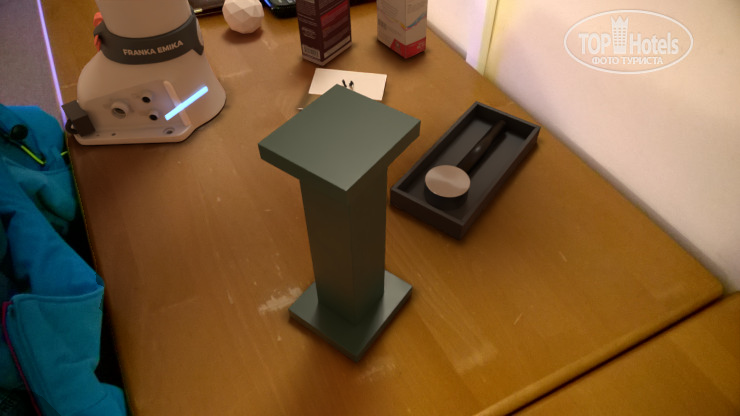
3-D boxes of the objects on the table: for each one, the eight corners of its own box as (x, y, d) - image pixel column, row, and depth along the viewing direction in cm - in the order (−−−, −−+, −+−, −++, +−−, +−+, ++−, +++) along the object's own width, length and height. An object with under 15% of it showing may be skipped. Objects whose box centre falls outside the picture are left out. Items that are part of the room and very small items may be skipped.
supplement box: (331, 37, 91) (325, -56, 79) (353, 45, 89) (349, -49, 77) (300, 58, 87) (288, -37, 75) (322, 67, 85) (313, -29, 73)
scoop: (485, 121, 74) (488, 108, 72) (520, 136, 72) (524, 123, 70) (415, 197, 64) (416, 184, 62) (453, 217, 62) (455, 203, 60)
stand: (347, 254, 59) (335, 78, 41) (412, 293, 55) (430, 119, 37) (289, 316, 53) (247, 144, 35) (357, 363, 50) (347, 199, 32)
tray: (473, 115, 76) (476, 100, 74) (536, 141, 72) (541, 126, 70) (389, 203, 64) (390, 188, 62) (459, 240, 60) (462, 226, 58)
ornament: (239, 16, 96) (259, -18, 92) (258, 44, 94) (280, 10, 90) (208, 11, 91) (228, -26, 86) (228, 40, 89) (249, 4, 84)
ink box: (426, 51, 88) (432, -16, 79) (403, 60, 86) (406, -8, 77) (397, 30, 93) (399, -36, 84) (374, 38, 91) (374, -28, 82)
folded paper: (386, 80, 82) (387, 70, 81) (374, 127, 74) (374, 116, 73) (315, 73, 84) (314, 63, 82) (296, 119, 76) (294, 108, 74)
